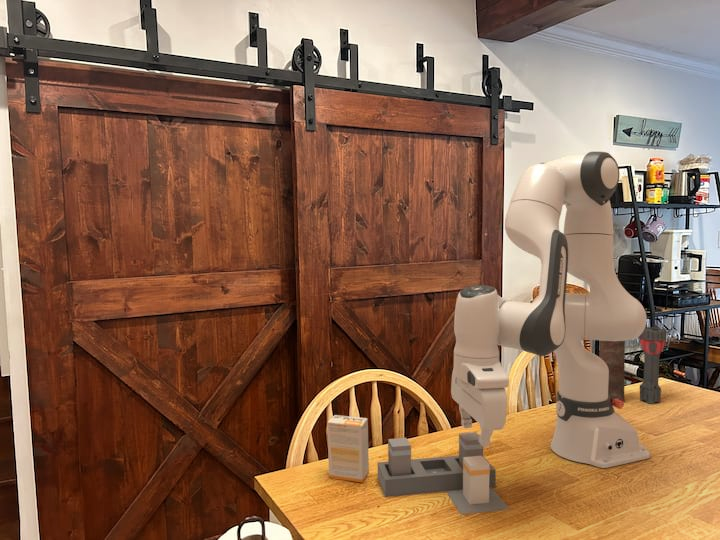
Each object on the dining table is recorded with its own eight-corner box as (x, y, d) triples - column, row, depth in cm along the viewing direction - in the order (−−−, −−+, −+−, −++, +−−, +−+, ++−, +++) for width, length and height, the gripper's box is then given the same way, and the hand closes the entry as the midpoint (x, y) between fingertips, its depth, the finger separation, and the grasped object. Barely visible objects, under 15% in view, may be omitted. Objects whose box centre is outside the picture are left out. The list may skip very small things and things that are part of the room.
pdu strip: (480, 470, 120) (481, 453, 120) (495, 487, 112) (495, 469, 112) (377, 479, 116) (377, 462, 116) (385, 498, 109) (385, 479, 108)
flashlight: (648, 394, 171) (651, 324, 168) (669, 401, 163) (672, 329, 161) (629, 396, 168) (632, 326, 166) (650, 404, 161) (653, 331, 159)
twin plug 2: (476, 466, 118) (476, 432, 117) (483, 475, 114) (483, 439, 113) (458, 468, 117) (458, 433, 116) (465, 476, 113) (465, 441, 112)
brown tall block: (601, 403, 163) (603, 339, 161) (594, 395, 170) (596, 334, 168) (627, 404, 162) (629, 340, 160) (619, 396, 169) (622, 335, 167)
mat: (489, 485, 113) (489, 484, 113) (509, 511, 103) (509, 509, 103) (444, 490, 112) (444, 488, 112) (460, 516, 102) (460, 514, 102)
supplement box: (369, 473, 119) (369, 417, 118) (362, 483, 115) (362, 425, 114) (335, 468, 122) (334, 413, 121) (327, 478, 117) (326, 421, 116)
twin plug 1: (406, 472, 115) (406, 437, 114) (411, 482, 111) (411, 445, 110) (388, 474, 115) (387, 439, 114) (392, 483, 111) (392, 447, 110)
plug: (481, 492, 110) (481, 455, 109) (489, 502, 106) (489, 464, 105) (462, 494, 109) (462, 457, 108) (469, 504, 105) (470, 466, 104)
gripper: (444, 356, 115) (443, 418, 116) (480, 382, 94) (479, 457, 95) (471, 355, 116) (471, 416, 117) (513, 381, 95) (512, 455, 96)
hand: (475, 435), depth 106 cm, fingers open, 8 cm apart
